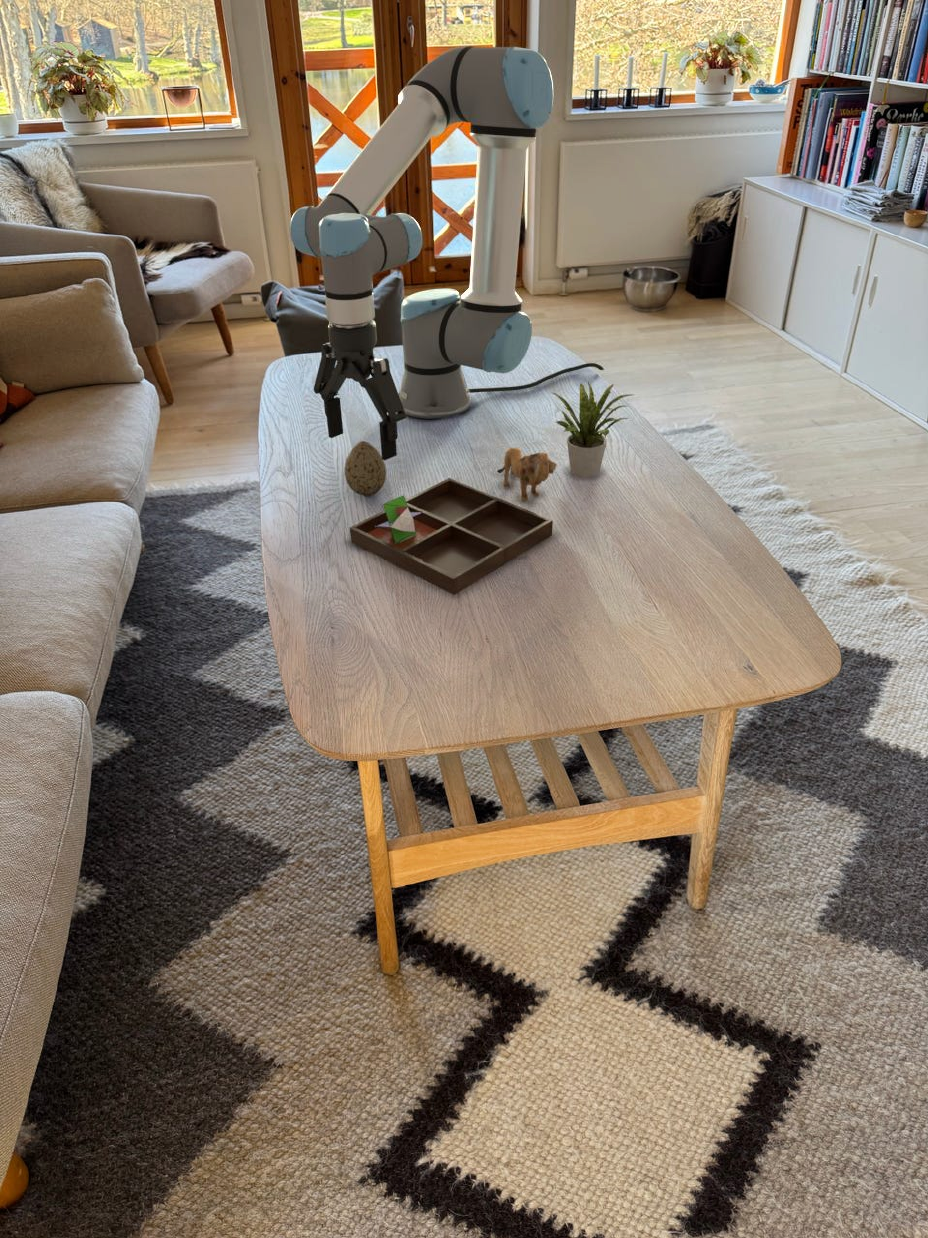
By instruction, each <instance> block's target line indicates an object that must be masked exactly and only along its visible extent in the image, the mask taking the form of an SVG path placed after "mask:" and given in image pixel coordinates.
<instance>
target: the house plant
mask: <svg viewBox="0 0 928 1238" xmlns="http://www.w3.org/2000/svg"><path fill="white" fill-rule="evenodd" d="M587 385H588V391H589V395H588V393H587V391H586V389H585V385H583V384H582V383H580V385H579V414H578V416H579V417H578V418H579V419H578V418H577V415H576V413H575V412H574V410H573V408H572V406H571V404H570V403H569V402H568V401H567V400H566V399H564V397H562V396H560V395H559V394H557V393H555V392H552V391H550V393H551V394H553V395H554V396H556V397H557V398H558V399H559V400H560V401H561V402H562V403H563V405H564V406H563V405H562V407H563V408H564V409H566V411H568V413H569V414H570V416H571V417H572V419H573V420H574V422H573V420H572V419H571V418H570V417H569V415H568V414H567V413H566V412H565V411H563V410H561V413H562V415H563V417H564V420H557V421H555V423H556V424H557V425H559V426H561V427H563V428H564V431H563V433H565V432H570V433H571V434H570V435H568V436H567V438H566V445H567V454H568V461H569V468H570V474H572V476H574V477H577V478H582V479H591V478H595V477H597V476H598V475H599V474H600V471H601V467H602V463H603V459H604V455H605V451H606V447H607V443H608V440H607V436H608V435H609V433H610V430H609V428H610V427H612V426H613V425H614V424H616V423H618V422H619V423H621V420H627V419H629V417H620V418H614V417H609V416H610V415H612V413H614V412H617V410H618V409H621V408H625V407H627V405H618V406H615V407H614V408H612V407H611V406H612V405H613V404H614V403H616V402H618V401H619V400H621V399H622V398H625V397H631V396H634V394H630V393H629V394H622V395H619V396H616V397H614V398H613V399H612V400H611V401H609V402H608V403H607V404H606V406H605V407H604V405H605V403H606V401H607V400H608V397H609V396H610V394H611V393H612V391H611V390H612V389H613V387H614V383H612V384H611V385H609V386H608V387H607V388H606V389H605V390H604V392H603V393H602V395H601V396H600V398H599V400H598V401H597V400H596V401H595V396H596V394H594V393H595V392H594V390H593V387H592V385H591V383H590V382H589V381H587ZM603 407H604V408H603ZM602 409H603V410H602ZM608 410H610V411H609V412H608V414H606V416H605V417H604V418H603V420H602V421H601V422H599V421H600V420H601V418H602V417H603V416H604V414H605V413H606V411H608ZM598 422H599V423H598ZM609 422H610V423H609ZM608 423H609V424H608ZM575 424H576V425H575ZM597 424H598V425H597ZM605 424H608V425H607V426H606V427H605V428H604V429H601V428H602V427H603V426H604V425H605ZM600 429H601V430H600Z"/></svg>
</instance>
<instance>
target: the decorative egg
mask: <svg viewBox="0 0 928 1238" xmlns="http://www.w3.org/2000/svg"><path fill="white" fill-rule="evenodd" d="M344 478H345V481H346V484H347V485H348V487H349V488H350V490H351V491H353V492H354V493H355V494H357V495H359V496H362V497H370V496H374V495H376V494H377V493H379V492H380V491H381V490H382V488H383V487H384V485H385V483H386V478H387V468H386V463H385V460H383V459H382V454H381V452H380V451H378V449H377V448H376V447H375V446H373V444H371V443H370V442H368V441H364V440H363V441H362V440H361V441H359V442H358V443H356V444H355V445H354V446H353V447H352V449H351V450H350V452H349V454H348V456H347V457H346V460H345V464H344Z"/></svg>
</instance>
